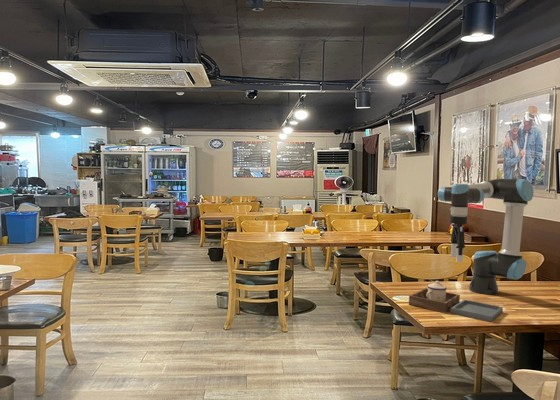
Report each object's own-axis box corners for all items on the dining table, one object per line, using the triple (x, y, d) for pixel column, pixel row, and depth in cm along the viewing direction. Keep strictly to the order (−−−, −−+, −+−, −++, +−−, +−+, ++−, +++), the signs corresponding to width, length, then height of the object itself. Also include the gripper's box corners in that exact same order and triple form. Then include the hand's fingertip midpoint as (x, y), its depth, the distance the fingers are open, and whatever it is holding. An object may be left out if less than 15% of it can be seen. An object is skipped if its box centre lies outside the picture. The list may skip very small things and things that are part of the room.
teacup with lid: (434, 300, 224) (435, 278, 223) (449, 304, 216) (450, 282, 216) (419, 303, 217) (420, 280, 217) (434, 308, 210) (435, 284, 209)
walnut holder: (424, 296, 231) (425, 288, 230) (459, 303, 219) (459, 294, 219) (408, 304, 215) (409, 295, 214) (445, 312, 203) (445, 303, 203)
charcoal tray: (463, 304, 218) (464, 299, 218) (502, 312, 207) (502, 307, 206) (450, 313, 203) (450, 307, 203) (491, 322, 191) (491, 316, 191)
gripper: (445, 213, 220) (443, 254, 221) (455, 217, 196) (453, 263, 197) (461, 214, 219) (459, 255, 220) (473, 218, 194) (470, 264, 195)
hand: (456, 259), depth 208 cm, fingers open, 13 cm apart
